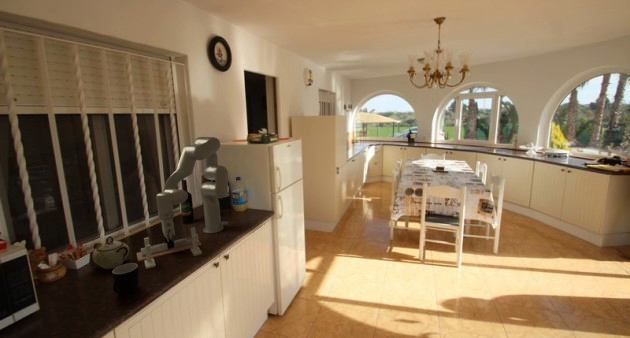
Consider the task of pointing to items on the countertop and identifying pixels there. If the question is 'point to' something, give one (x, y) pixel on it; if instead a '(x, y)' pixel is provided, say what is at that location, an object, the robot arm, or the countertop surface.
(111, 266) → the sugar bowl
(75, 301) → the countertop surface
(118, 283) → the mug
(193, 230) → the shelf brackets
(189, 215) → the wine bottle
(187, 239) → the steel rail
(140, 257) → the terracotta mat
